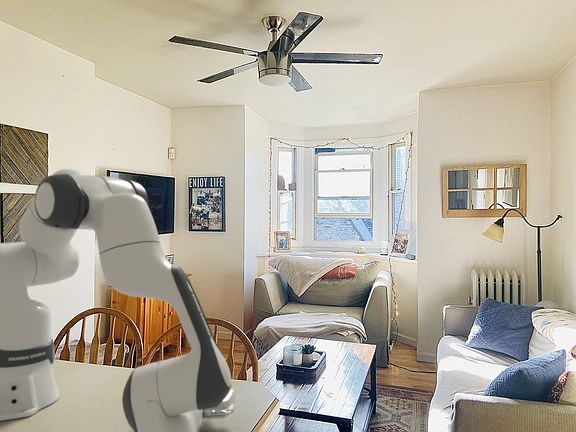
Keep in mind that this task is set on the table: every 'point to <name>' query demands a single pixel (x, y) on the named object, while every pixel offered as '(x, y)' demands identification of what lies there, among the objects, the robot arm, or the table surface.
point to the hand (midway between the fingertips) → (192, 386)
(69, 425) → the table surface
